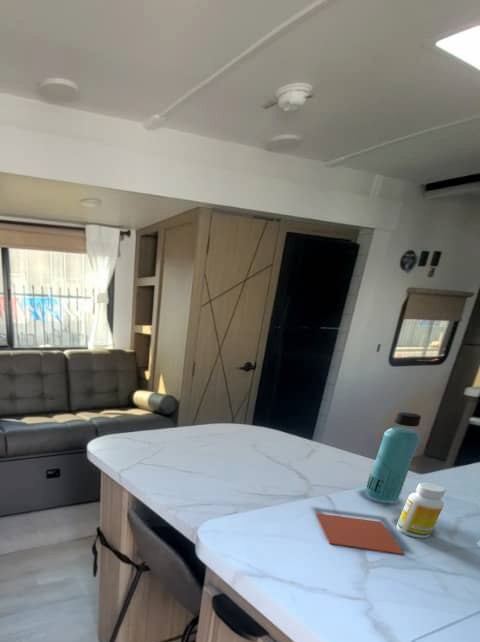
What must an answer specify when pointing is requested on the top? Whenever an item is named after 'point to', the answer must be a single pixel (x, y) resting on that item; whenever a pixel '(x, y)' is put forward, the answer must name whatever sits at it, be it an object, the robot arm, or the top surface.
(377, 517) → the top surface
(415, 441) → the beverage bottle
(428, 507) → the supplement bottle
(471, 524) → the top surface
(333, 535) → the cloth
